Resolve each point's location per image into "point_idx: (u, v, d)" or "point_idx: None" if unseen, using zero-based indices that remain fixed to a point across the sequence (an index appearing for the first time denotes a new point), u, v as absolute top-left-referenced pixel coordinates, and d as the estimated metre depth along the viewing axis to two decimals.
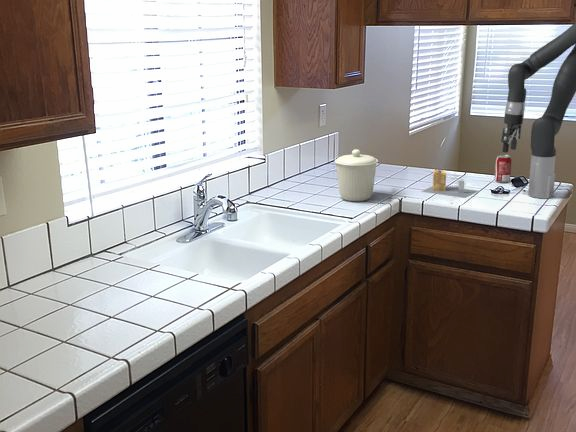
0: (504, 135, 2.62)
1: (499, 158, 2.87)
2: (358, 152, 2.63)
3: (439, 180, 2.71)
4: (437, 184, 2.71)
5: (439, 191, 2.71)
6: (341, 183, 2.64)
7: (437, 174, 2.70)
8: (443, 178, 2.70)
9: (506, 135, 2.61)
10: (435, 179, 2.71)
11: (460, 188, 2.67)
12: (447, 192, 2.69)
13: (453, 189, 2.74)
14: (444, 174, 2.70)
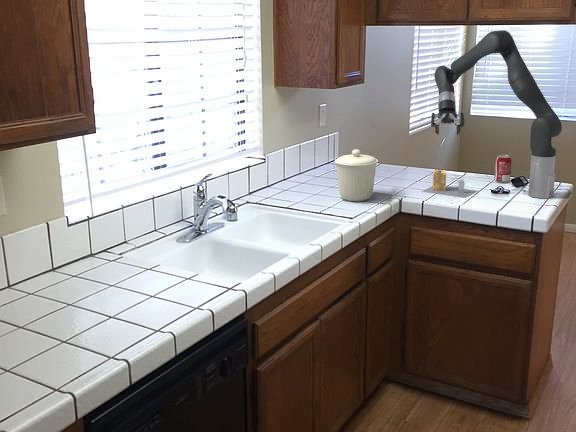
0: (431, 120, 2.84)
1: (499, 158, 2.87)
2: (358, 152, 2.63)
3: (439, 180, 2.71)
4: (437, 184, 2.71)
5: (439, 191, 2.71)
6: (341, 183, 2.64)
7: (437, 174, 2.70)
8: (443, 178, 2.70)
9: (431, 118, 2.83)
10: (435, 179, 2.71)
11: (460, 188, 2.67)
12: (447, 192, 2.69)
13: (453, 189, 2.74)
14: (444, 174, 2.70)
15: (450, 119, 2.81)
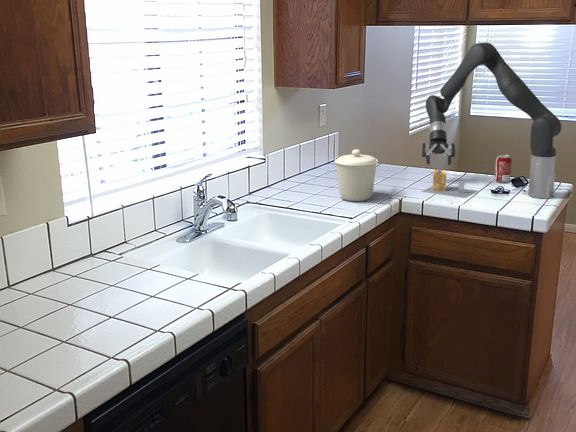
0: (422, 150, 2.83)
1: (499, 158, 2.87)
2: (358, 152, 2.63)
3: (439, 180, 2.71)
4: (437, 184, 2.71)
5: (439, 191, 2.71)
6: (341, 183, 2.64)
7: (437, 174, 2.70)
8: (443, 178, 2.70)
9: (422, 149, 2.82)
10: (435, 179, 2.71)
11: (460, 188, 2.67)
12: (447, 192, 2.69)
13: (453, 189, 2.74)
14: (444, 174, 2.70)
15: (441, 149, 2.80)
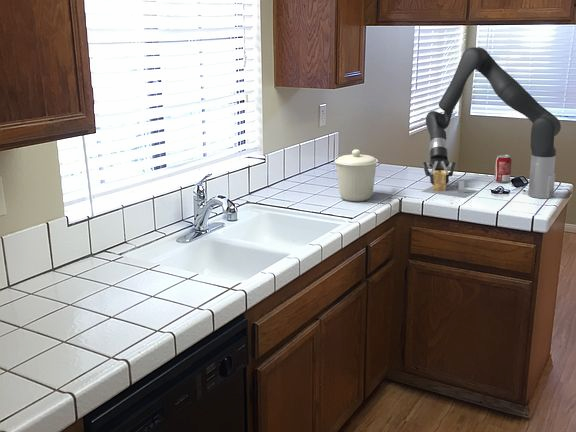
0: (424, 169, 2.76)
1: (499, 158, 2.87)
2: (358, 152, 2.63)
3: (439, 180, 2.71)
4: (437, 184, 2.71)
5: (439, 191, 2.71)
6: (341, 183, 2.64)
7: (437, 174, 2.70)
8: (443, 178, 2.70)
9: (424, 168, 2.75)
10: (435, 179, 2.71)
11: (460, 188, 2.67)
12: (447, 192, 2.69)
13: (453, 189, 2.74)
14: (444, 174, 2.70)
15: (440, 167, 2.74)
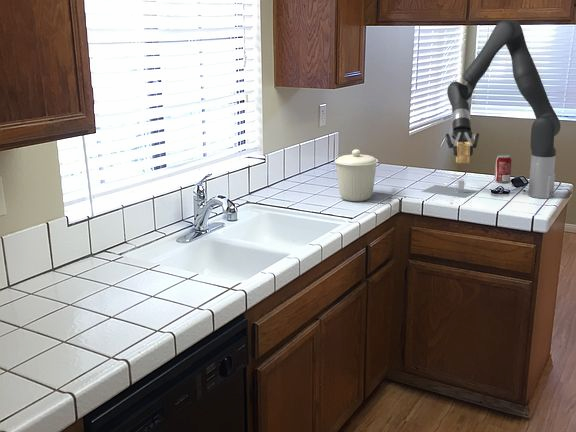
0: (447, 141, 2.66)
1: (499, 158, 2.87)
2: (358, 152, 2.63)
3: (463, 152, 2.61)
4: (461, 156, 2.61)
5: (439, 191, 2.71)
6: (341, 183, 2.64)
7: (461, 145, 2.60)
8: (467, 149, 2.60)
9: (447, 140, 2.66)
10: (459, 151, 2.61)
11: (460, 188, 2.67)
12: (447, 192, 2.69)
13: (453, 189, 2.74)
14: (468, 145, 2.60)
15: (464, 138, 2.64)
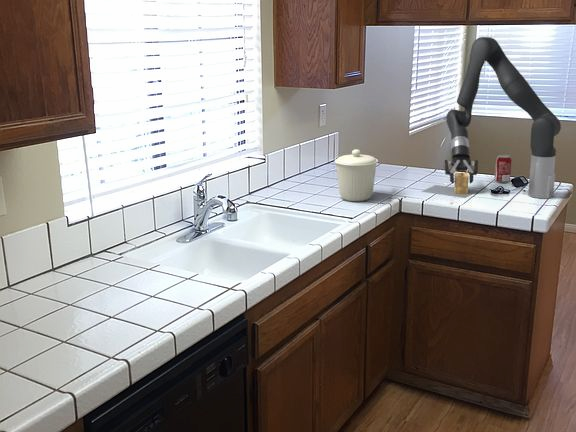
0: None
1: (499, 158, 2.87)
2: (358, 152, 2.63)
3: (461, 183, 2.65)
4: (459, 187, 2.65)
5: (439, 191, 2.71)
6: (341, 183, 2.64)
7: (459, 177, 2.64)
8: (465, 181, 2.64)
9: (445, 166, 2.69)
10: (457, 182, 2.65)
11: None
12: (447, 192, 2.69)
13: (453, 189, 2.74)
14: (466, 177, 2.64)
15: (463, 166, 2.68)
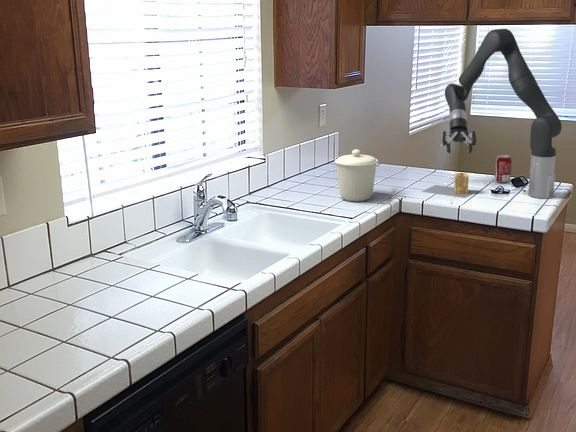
0: (442, 138, 2.80)
1: (499, 158, 2.87)
2: (358, 152, 2.63)
3: (461, 183, 2.65)
4: (459, 187, 2.65)
5: (439, 191, 2.71)
6: (341, 183, 2.64)
7: (459, 177, 2.64)
8: (465, 181, 2.64)
9: (442, 137, 2.79)
10: (457, 182, 2.65)
11: None
12: (447, 192, 2.69)
13: (453, 189, 2.74)
14: (466, 177, 2.64)
15: (462, 137, 2.77)
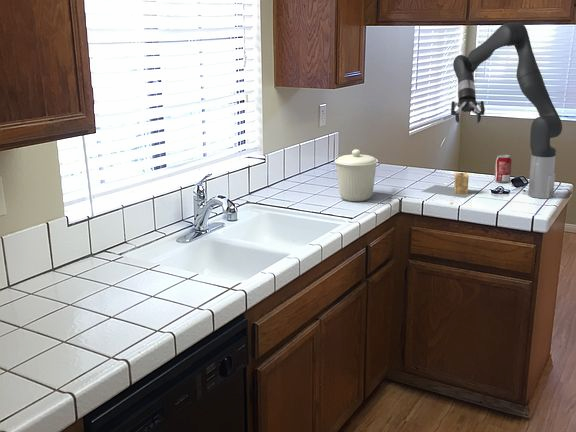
0: (451, 108, 2.83)
1: (499, 158, 2.87)
2: (358, 152, 2.63)
3: (461, 183, 2.65)
4: (459, 187, 2.65)
5: (439, 191, 2.71)
6: (341, 183, 2.64)
7: (459, 177, 2.64)
8: (465, 181, 2.64)
9: (451, 107, 2.82)
10: (457, 182, 2.65)
11: None
12: (447, 192, 2.69)
13: (453, 189, 2.74)
14: (466, 177, 2.64)
15: (470, 107, 2.81)
